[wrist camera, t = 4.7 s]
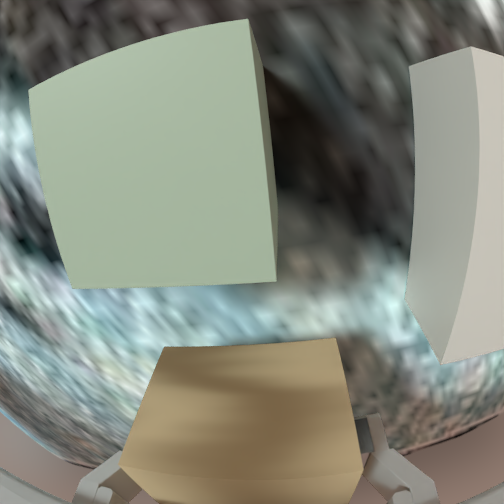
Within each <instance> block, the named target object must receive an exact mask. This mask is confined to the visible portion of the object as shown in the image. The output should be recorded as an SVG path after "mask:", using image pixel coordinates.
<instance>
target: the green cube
mask: <svg viewBox="0 0 504 504" xmlns="http://www.w3.org/2000/svg"><path fill="white" fill-rule="evenodd" d="M29 103H30V114H31V123H32V131H33V138H34V145H35V151H36V157H37V163H38V168H39V173H40V178H41V183H42V188H43V192H44V197H45V201H46V205H47V209H48V213H49V217H50V220H51V224H52V228H53V231H54V235H55V238H56V241H57V245H58V248H59V251H60V254H61V257H62V260H63V263H64V266H65V269H66V272H67V275H68V278H69V280H70V283H71V286H72V288H73V289H98V288H144V287H176V286H201V285H224V284H244V283H262V282H277V245H278V203H277V192H276V182H275V171H274V161H273V151H272V141H271V132H270V123H269V114H268V105H267V96H266V88H265V79H264V71H263V65H262V62H261V58H260V55H259V52H258V48H257V45H256V42H255V39H254V36H253V32H252V29H251V26H250V23H249V20H248V19H244V20H236V21H229V22H223V23H217V24H212V25H206V26H201V27H196V28H192V29H187V30H183V31H178V32H174V33H170V34H167V35H163V36H159V37H155V38H152V39H149V40H145V41H142V42H139V43H136V44H132V45H129V46H126V47H123V48H121V49H118V50H115V51H112V52H109V53H107V54H104V55H102V56H99V57H96V58H94V59H92V60H89V61H87V62H84V63H82V64H80V65H77V66H75V67H73V68H71V69H68V70H66V71H64V72H62V73H60V74H58V75H56V76H54V77H52V78H50V79H48V80H46V81H44V82H42V83H40V84H38V85H36V86H35V87H33V88H31V89H29Z"/></svg>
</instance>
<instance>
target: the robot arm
mask: <svg viewBox="0 0 504 504" xmlns="http://www.w3.org/2000/svg"><path fill="white" fill-rule="evenodd" d="M354 421H355V426H356V432H357V437H358V442H359V447H360V453H361V459H362V464H363V473H362V475H363V476H364V477H365V478H366V479H367V480H368V481H369V482H370V483H371V484H372V486H373V487H374V488H375V489H376V490H377V491H378V492H379V493H380V494H381V495H382V496H383V497H384V498H385V499H386V500H387V501H388V503H387V504H440V501H439V498H438V494H437V490H436V486H435V483H434V480H432V479H431V478H430V477H428V476H427V475H426V474H424V473H423V472H422V471H421V470H419V469H418V468H417V467H416V466H414V465H413V464H412V463H410V462H409V461H408V460H407V459H406V458H405V457H403V456H402V455H401V454H400V453H398V452H397V451H396V450H395V449H394V448H392V449H389V445H388V441H387V438H386V434H385V430H384V426H383V423H382V419H381V416H380V414H379V413H375V414H370V415H362V416H357V417H354ZM131 428H132V427H131ZM130 431H131V430H130ZM128 436H129V435H128ZM126 441H127V440H126ZM125 444H126V443H125ZM123 449H124V448H123ZM122 452H123V451H118V452H117V453H116V454H114V455H113V456H112V457H110V458H109V459H108V460H106V461H105V462H104V463H102V464H101V465H100V466H98V467H97V468H95V469H94V470H93V471H91V472H90V473H89V474H87V475H86V476H84V477H83V478H82V479H81V481H80V483H79V486H78V488H77V491H76V493H75V496H74V498H73V501H72V503H70V502H68V501H65V500H63V499H61V498H58V497H56V496H54V495H52V494H50V493H47V492H45V491H43V490H41V489H39V488H37V487H35V486H33V485H31V484H29V483H27V482H25V481H24V480H22V479H20V478H18V477H16V476H15V475H13V474H11V473H9V472H8V471H6V470H4V469H3V468H1V467H0V504H129V501H131V500H132V499H133V498H134V497H135V496H136V495H137V494H138V493H139V492H140V491H141V490H142V488H141V487H140V486H139V485H138V484H137V483H136V482H135V481H134V480H133V479H132V478H131V477H130V476H129V475H128V474H127V473H126V472H125V471H124V470H123V469H122V468H121V467H120V466H119V465H118V463H119V460H120V457H121V455H122ZM458 504H504V482H502V483H501V484H499V485H497V486H495V487H493V488H491V489H489V490H487V491H485V492H483V493H481V494H479V495H476V496H474V497H472V498H470V499H468V500H465V501H463V502H461V503H458Z"/></svg>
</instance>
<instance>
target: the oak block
mask: <svg viewBox="0 0 504 504" xmlns="http://www.w3.org/2000/svg"><path fill="white" fill-rule="evenodd" d="M118 465H119V466H120V467H121V468H122V469H123V470H124V471H125V472H126V473H127V474H128V475H129V476H130V477H131V478H132V479H133V480H134V481H135V482H136V483H137V484H138V485H139V486H140V487H141V488H142V489H143V490H144V491H145V492H146V493H148V494H149V495H150V496H151V497H152V498H153V499H154V500H155V501H157V502H158V503H159V504H349V502H350V499H351V497H352V495H353V493H354V491H355V489H356V487H357V484H358V482H359V480H360V477H361V475H362V473H363V464H362V459H361V453H360V447H359V442H358V437H357V432H356V426H355V421H354V416H353V412H352V407H351V402H350V397H349V393H348V388H347V384H346V379H345V375H344V370H343V366H342V362H341V357H340V353H339V349H338V345H337V341H336V338H328V339H319V340H309V341H298V342H285V343H272V344H256V345H235V346H203V347H164V348H163V351H162V353H161V355H160V358H159V360H158V363H157V365H156V367H155V370H154V372H153V375H152V377H151V380H150V382H149V385H148V387H147V390H146V392H145V395H144V397H143V400H142V402H141V405H140V407H139V410H138V412H137V415H136V418H135V420H134V423H133V425H132V428H131V431H130V433H129V436H128V438H127V441H126V444H125V446H124V449H123V452H122V455H121V457H120V460H119V463H118Z"/></svg>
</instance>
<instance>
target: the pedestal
mask: <svg viewBox="0 0 504 504" xmlns="http://www.w3.org/2000/svg"><path fill="white" fill-rule="evenodd" d="M409 73H410V81H411V91H412V102H413V115H414V134H415V198H414V218H413V232H412V243H411V253H410V262H409V271H408V278H407V286H406V292H405V301H406V303H407V304H408V306H409V308H410V309H411V311H412V313H413V315H414V316H415V318H416V320H417V322H418V324H419V325H420V327H421V329H422V331H423V333H424V334H425V336H426V338H427V340H428V342H429V344H430V346H431V348H432V349H433V351H434V353H435V355H436V357H437V359H438V361H439V363H440V365H442V364H447V363H451V362H456V361H460V360H464V359H468V358H472V357H476V356H480V355H483V354H487V353H491V352H494V351H498V350H501V349H504V57H503V56H500V55H497V54H494V53H491V52H488V51H484V50H481V49H477V48H474V47H468V48H465V49H461V50H458V51H454V52H451V53H448V54H445V55H441V56H438V57H435V58H432V59H429V60H426V61H423V62H420V63H417V64H415V65H412V66H409Z"/></svg>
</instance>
